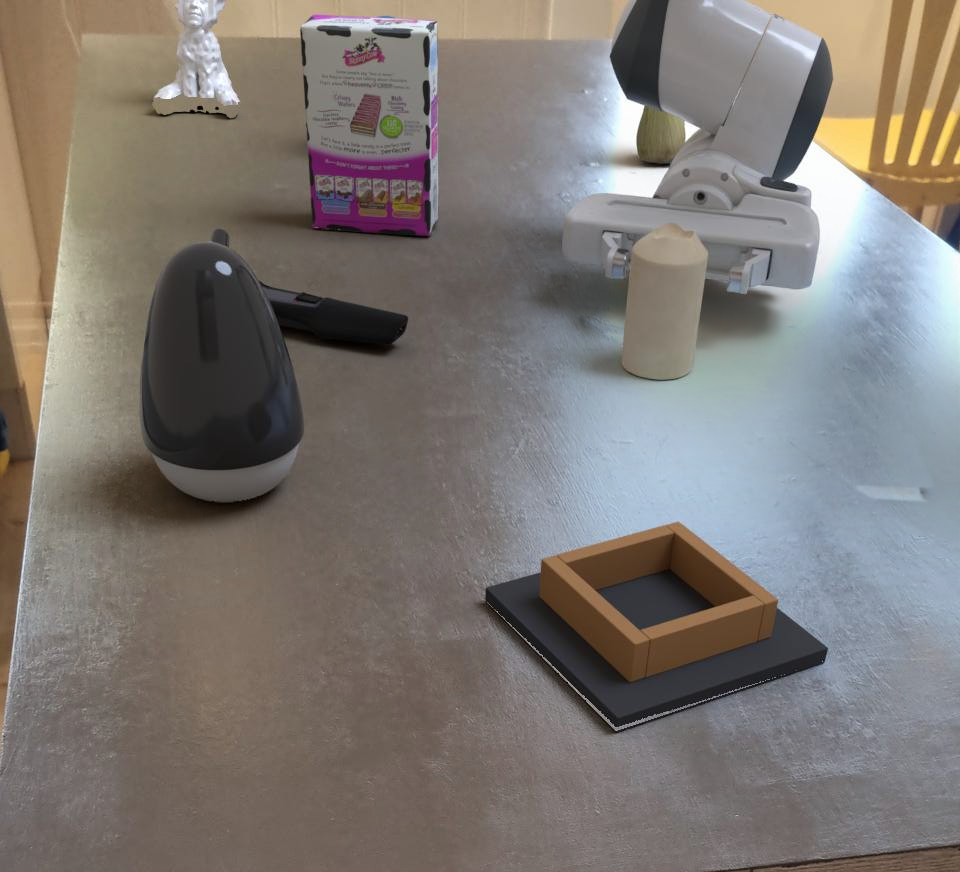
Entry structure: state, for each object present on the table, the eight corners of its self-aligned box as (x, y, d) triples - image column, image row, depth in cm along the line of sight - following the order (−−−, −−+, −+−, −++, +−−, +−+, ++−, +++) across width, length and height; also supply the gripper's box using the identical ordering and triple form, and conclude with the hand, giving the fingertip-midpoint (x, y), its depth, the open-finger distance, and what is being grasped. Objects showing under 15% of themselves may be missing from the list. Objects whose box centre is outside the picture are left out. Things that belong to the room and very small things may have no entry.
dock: (680, 546, 85) (687, 495, 83) (825, 662, 76) (838, 609, 74) (484, 601, 80) (486, 549, 78) (615, 733, 71) (622, 678, 69)
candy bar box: (439, 220, 127) (440, 18, 116) (430, 238, 124) (431, 32, 113) (322, 211, 128) (311, 10, 117) (309, 229, 125) (298, 23, 114)
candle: (619, 349, 107) (632, 215, 100) (690, 352, 107) (707, 218, 100) (622, 379, 103) (635, 241, 96) (695, 382, 103) (714, 244, 96)
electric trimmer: (394, 364, 104) (394, 323, 102) (220, 323, 109) (216, 283, 106) (416, 346, 107) (416, 306, 105) (244, 307, 111) (241, 267, 109)
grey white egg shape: (317, 449, 93) (303, 216, 83) (296, 526, 86) (278, 279, 75) (168, 443, 94) (135, 209, 83) (134, 519, 86) (94, 272, 76)
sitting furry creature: (151, 116, 149) (135, -12, 141) (167, 94, 155) (153, -29, 147) (238, 120, 149) (227, -8, 141) (251, 98, 155) (241, -26, 147)
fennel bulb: (643, 171, 140) (657, 37, 132) (622, 156, 143) (634, 25, 135) (693, 165, 141) (710, 33, 133) (671, 151, 145) (686, 21, 136)
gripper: (582, 163, 114) (545, 216, 104) (831, 190, 110) (817, 247, 100) (577, 242, 118) (540, 300, 108) (816, 270, 114) (801, 333, 104)
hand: (675, 275), depth 104 cm, fingers open, 8 cm apart
